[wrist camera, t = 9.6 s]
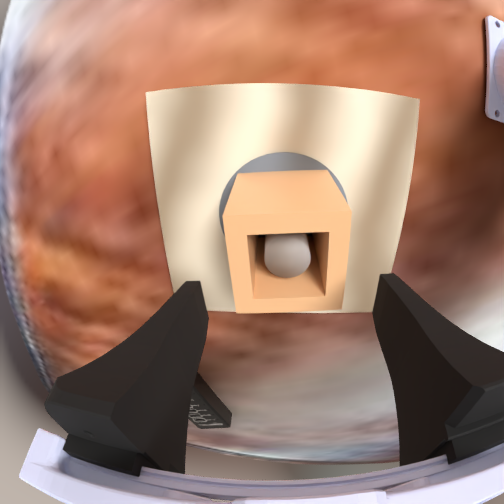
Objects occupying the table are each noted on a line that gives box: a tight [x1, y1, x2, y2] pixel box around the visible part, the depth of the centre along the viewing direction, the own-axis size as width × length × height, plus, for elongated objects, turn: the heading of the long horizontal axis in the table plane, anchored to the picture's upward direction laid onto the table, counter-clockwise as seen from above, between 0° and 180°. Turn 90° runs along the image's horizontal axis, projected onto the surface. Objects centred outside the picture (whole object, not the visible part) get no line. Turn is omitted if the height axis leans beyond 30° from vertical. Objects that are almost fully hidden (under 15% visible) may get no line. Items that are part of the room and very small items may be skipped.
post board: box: [146, 83, 420, 313], centre depth 17 cm, size 16×16×6 cm
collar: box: [222, 170, 352, 313], centre depth 16 cm, size 5×5×6 cm
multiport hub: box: [189, 372, 232, 429], centre depth 30 cm, size 4×14×2 cm, turn 20°
